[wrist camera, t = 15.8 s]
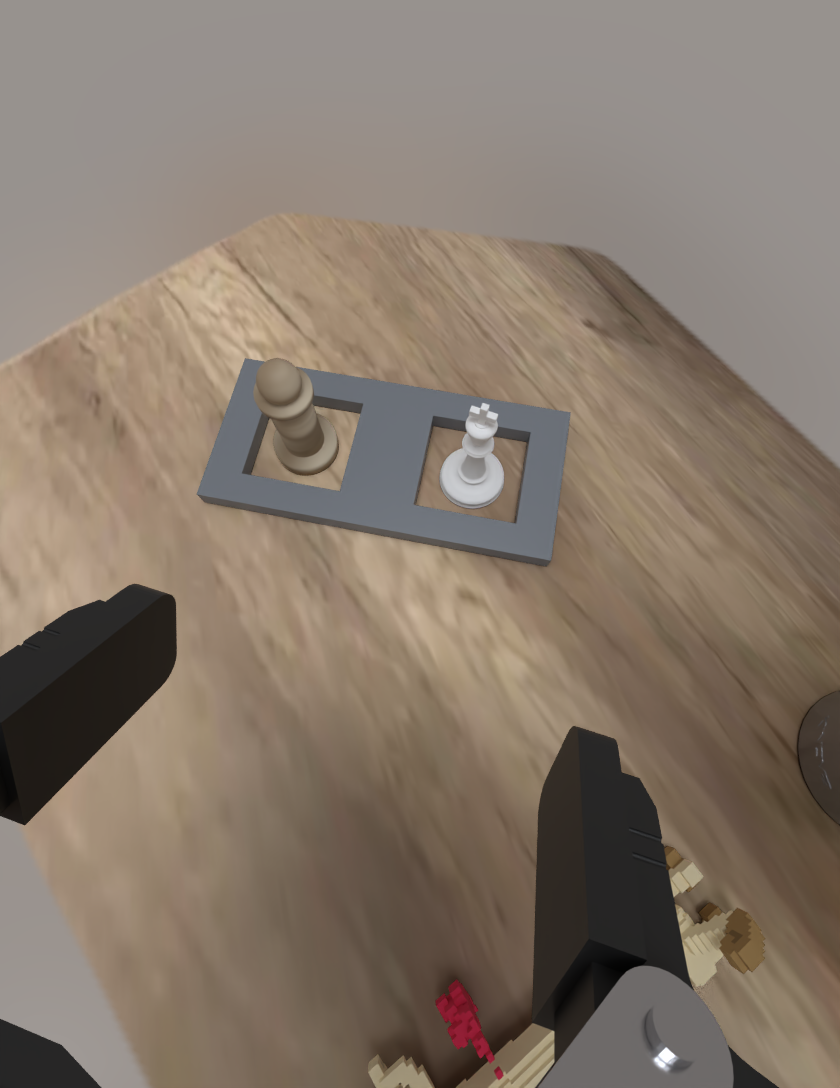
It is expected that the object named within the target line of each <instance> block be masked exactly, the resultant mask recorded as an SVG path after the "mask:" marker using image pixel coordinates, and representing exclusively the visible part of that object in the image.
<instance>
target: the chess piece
mask: <svg viewBox="0 0 840 1088" xmlns="http://www.w3.org/2000/svg"><path fill="white" fill-rule="evenodd" d="M489 406H490V405H488V404H485V403H482V406H481V408H478V407H475V406H471V408H470V411H469V417H468V418H467V420H466V424H465V426H466V431H467V434H466V435H465V436H464V438H463V440H462V446H463V448H461V449H459V450H456V451H455V452H453V453H452V454H450V455H449V456H448V457H447V459H446V460H445V462H444V463H443V466H442V468H441V471H440V477H439V480H440V486H441V489H442V491H443V493H444V494H445V496H446V497H447V498H448V499H449V500H450V501H451V502H453V503H454V504H456V505H458V506H461V507H464V508H471V509H474V508H481V507H484V506H487V505H489V504H490V503H492V502H493V501H494V500H496V499H497V497H498V496H499V495H500V493H501V491H502V489H503V485H504V471H503V468H502V465H501V463H500V461H499V460H498V459H497V458H496V457H495V456H494V455H493V454H492V453H491V452H492V451H493V448H494V440H493V436H494V434H495V433H496V431H497V428H498V423H497V418H498V414H497V413H493V412H490V411H489Z"/></svg>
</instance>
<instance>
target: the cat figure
mask: <svg viewBox="0 0 840 1088" xmlns="http://www.w3.org/2000/svg"><path fill="white" fill-rule="evenodd" d="M664 850H665V856H666V861H667V865H666V870H668V871H669V876H670V881H671V886H672V891H673V897H675V896H676V895H677V894H678V893H679V892H680V893H683V892H684V891H687V892H690V891H691V890H692V889H693V888H694V887H695V886H696V885H697V884H698V883H699V881H700V880H701V879H702V878H703V875H702V874H701V873H700V871H699V870H698V869H697V867H696V866H695V865H694V863H693V862H691V861H688V860H686V859H683V858H681V856H680V855H679V854H678V852H677V851H676V849H675V848H672V847H669V846H667V847H666V848H665V849H664ZM675 907H676V912H677V917H678V922H679V927H680V933H681V938H682V943H683V948H684V953H685V958H686V963H687V968H688V973H689V977H690V981H691V983H692V984H693V985H695V986H696V987H698V986H699V985H700V986H703V985H704V984H705V983H706V982H707V981H708V980H709V979H710V978H711V977H712V976H713V975H714V974H715V973H716V972H717V970H716V966H715V964H716V963H717V962H718V961H719V960H720V959H721V958H722V957H723V956H725V957H726V959H727V960H728V962H729V963H730V964H731V966H732V967H734V968H735V969H737V970H738V971H740V972H741V973H743V974H744V973H745V972H746V971H747V970H750V971H751V972H753V970H754V969H755V968H756V967H757V966H758V965H759V964H760V963H761V962H762V961H763V960H764V959H765V958H764V956H763V955H762V954H763V953H764V952H765V951H764V949H763V947H764V946H765V944H764V943H763V940H764V939H765V938H764V936H763V935H762V934H761V932H760V931H761V929H760V928H759V927H758V925H757V924H756V923H755V921H754V920H753V919H752V917H751V916H750V915H749V913H747V912H745V911H743V910H741V909H739V908H737V909H736V910H735V911H734V912H733V911H731V910H730V911H729V912H728V913H727V914H725V913H722V912H721V910H720V909H719V908H718V907H717V906H715V905H713V904H711V903H708V904H707V905H706V906H705V907H704V908H703V909H702V910H701V911H700V912H699V914H700V915H701V917H702V918H703V919H702V920H701V921H702V922H703V923H702V924H699V923H697V924H696V925H695V923H694V922H693V921H692V919H691V918H690V916H689V915H688V914H687V913H685V912H684V910H683V909H682V908H681V907H680V906H678V905H676V904H675ZM448 988H449V992H450V994H449V995H448V996H447V997H446V995H445V993H444V994H443V995H442V996H440V997H439V998H438V999H437V1000H436V1006H437V1008H438V1010H439V1012H440V1013H441V1015H442V1017H443V1019H444V1020H445V1022H446V1023H447V1022H448V1021H449V1020H450V1022H451V1024H452V1025H451V1026H450V1027H449V1028H447V1030H448V1033H449V1035H450V1036H451V1039H452V1042H453V1044H454V1045H455V1047H457V1049H459V1048H460V1047H463V1048H465V1047H466V1046H467V1045H468V1040H469V1039H470V1038H471V1040H472V1043H473V1045H474V1047H475V1049H476V1052H477V1054H478V1055H479V1057H480V1059H481V1058H482V1057H483V1056H484V1055H486V1058H487V1059H488V1062H487V1063H486V1064H485V1065H484V1066H482V1067H481V1068H480V1069H479V1070H478V1071H477V1072H476V1073H475V1074H474V1075H473V1076H472V1077H471V1078H470V1079H469V1080H468V1081H467V1080H466V1079H464V1080H463V1081H462V1082H461V1083H460V1084H459V1085H458V1086H457V1087H456V1088H535V1087H536V1086H537V1084H538V1083H539V1082H540V1080H541V1079H542V1078H543V1076H544V1075H545V1074H546V1072H547V1071H548V1070H549V1068H550V1067H551V1066H552V1065H553V1063H554V1031H552V1030H550V1029H547V1028H544V1027H542V1026H539V1025H537V1024H534V1023H532V1024H531V1025H530V1026H529V1027H528V1028H527V1029H526V1030H525V1031H524V1032H523V1033H522V1034H521V1035H520V1036H519V1037H518V1038H517V1039H515V1040H514V1041H512V1039H511V1040H510V1041H509V1042H508V1043H507V1044H506V1045H505V1046H504V1047H503V1048H502V1049H501V1050H499V1051H498V1052H497V1053H496V1054H495V1055H493V1054H492V1052H491V1050H490V1048H489V1045H488V1042H487V1040H486V1039H485V1037H484V1035H483V1034H482V1032H481V1030H480V1029H481V1025H480V1022H479V1019H478V1018H477V1016H476V1014H475V1013H476V1012H477V1011H478V1008H477V1007H476V1005H474V1004H473V1001H472V999H471V997H470V995H469V994H468V993H467V992H466V990H465V989H464V987H463V985H462V984H460V982H458V980H455V981H454V982H453V983H452V984H451V985H450V986H449V987H448ZM368 1073H369V1075H370V1077H371V1079H372V1081H373V1083H374V1085H375V1087H376V1088H435V1087H434V1085H433V1083H432V1081H431V1079H430V1077H429V1076H428V1074H427V1072H426V1070H425V1068H424V1066H423V1065H421V1066H420V1067H419V1068H417V1066H416V1065H415V1063H414V1061H413V1059H412V1057H410V1058H409V1059H408V1060H407V1061H406V1059H405V1057H404V1055H403V1056H402V1057H400V1058H399V1059H398V1060H397V1061H396V1062H395V1063H394V1064H393V1065H392V1066H390V1067H389V1068H388V1069H387V1067H386V1065H385V1063H383V1062H382V1060H381V1059H380V1057H379V1055H376V1056H375V1057H374V1058H373V1059H372V1060H371V1061H370V1062H369V1064H368ZM400 1082H401V1084H400ZM408 1084H409V1086H408Z"/></svg>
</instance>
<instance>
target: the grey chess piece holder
mask: <svg viewBox="0 0 840 1088" xmlns="http://www.w3.org/2000/svg"><path fill="white" fill-rule="evenodd" d="M263 363H264V361H258V360H252V359H246V358H245V360H244V363H243V366H242V369H241V372H240V374H239V377H238V380H237V383H236V386H235V388H234V391H233V394H232V397H231V400H230V402H229V405H228V408H227V411H226V414H225V416H224V419H223V422H222V425H221V428H220V430H219V433H218V436H217V439H216V442H215V444H214V447H213V450H212V453H211V456H210V458H209V461H208V464H207V467H206V470H205V472H204V475H203V478H202V481H201V484H200V486H199V489H198V492H197V495H198V496H199V497H200V498H201V499H202V500H203V501H204V502H207V503H212V504H217V505H223V506H228V507H233V508H239V509H244V510H249V511H255V512H260V513H265V514H270V515H276V516H281V517H286V518H292V519H297V520H302V521H308V522H313V523H318V524H324V525H329V526H334V527H340V528H345V529H350V530H356V531H361V532H366V533H372V534H377V535H382V536H387V537H393V538H398V539H403V540H409V541H414V542H419V543H425V544H430V545H435V546H441V547H446V548H451V549H457V550H462V551H467V552H473V553H478V554H483V555H489V556H494V557H499V558H505V559H510V560H515V561H520V562H526V563H531V564H536V565H542V566H547V565H548V564H549V563H550V561H551V557H552V549H553V542H554V534H555V527H556V519H557V512H558V504H559V496H560V489H561V481H562V474H563V466H564V459H565V451H566V443H567V436H568V428H569V421H570V412H564V411H558V410H552V409H546V408H540V407H534V406H528V405H522V404H516V403H510V402H504V401H498V400H492V399H486V398H480V397H474V396H468V395H462V394H456V393H450V392H444V391H438V390H432V389H426V388H420V387H414V386H408V385H402V384H396V383H390V382H384V381H378V380H372V379H366V378H360V377H354V376H348V375H342V374H336V373H330V372H324V371H318V370H312V369H306V368H300V367H297V368H299V369H301V370H303V371H304V372H305V373H306V374H307V375H308V377H309V378H310V380H311V383H312V386H313V390H314V398H313V401H312V404H313V405H315V406H321V407H327V408H333V409H338V410H344V411H350V412H356V413H361V414H360V418H359V422H358V425H357V429H356V433H355V437H354V440H353V444H352V448H351V451H350V455H349V459H348V463H347V466H346V470H345V474H344V477H343V481H342V485H341V489H340V491H335V490H330V489H324V488H319V487H313V486H308V485H302V484H297V483H291V482H286V481H280V480H275V479H270V478H264V477H259V476H253V475H251V472H252V469H253V466H254V463H255V459H256V456H257V453H258V450H259V447H260V444H261V441H262V438H263V435H264V432H265V429H266V426H267V423H268V420H269V417H267V416H265V415H264V414H263V413H262V412H261V411H260V409H259V408H258V406H257V404H256V402H255V400H254V395H253V391H254V386H255V383H256V375H257V371H258V369H259V368H260V366H261V365H262V364H263ZM482 403H485V404H488V405H490V406H489V411H490V412H493V413H497V414H498V418H497V423H498V428H497V431H496V433H495V434H494V436H496V437H502V438H508V439H514V440H519V441H525V442H527V446H526V453H525V459H524V465H523V472H522V478H521V484H520V491H519V497H518V504H517V510H516V516H515V523H510V522H505V521H499V520H494V519H488V518H483V517H477V516H472V515H466V514H461V513H455V512H450V511H444V510H439V509H434V508H428V507H423V506H417V505H416V501H417V496H418V492H419V487H420V483H421V478H422V474H423V469H424V464H425V460H426V455H427V451H428V446H429V442H430V437H431V433H432V428H433V426H438V427H444V428H449V429H455V430H461V431H466V426H465V424H466V420H467V418H468V417H469V411H470V408H471V406H475V407H478V408H481V406H482Z"/></svg>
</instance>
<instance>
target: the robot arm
mask: <svg viewBox="0 0 840 1088" xmlns="http://www.w3.org/2000/svg"><path fill="white" fill-rule="evenodd" d="M176 654H177V644H176V602H175V599H174V597H173V596H172V595H170V594H167V593H164V592H161V591H158V590H154V589H151V588H148V587H145V586H142V585H139V584H132V585H129V586H127V587H126V588H124V589H123V590H121V591H120V592H119V593H117V594H116V595H114V596H113V597H112V598H110V599H109V600H107V601H106V602H104V601H101V600H98V601H95V602H92V603H89V604H87V605H84V606H81V607H78V608H76V609H73V610H70V611H68V612H67V613H65V614H64V615H62V616H61V617H59V618H58V619H56V620H55V621H53V622H52V623H50V624H49V625H47V626H46V627H44V630H43V631H42V632H41V631H38V632H37V633H35V634H34V635H32V636H31V637H29V638H28V639H26V640H25V641H24V643H23V644H22V645H21V646H20V645H17V646H16V647H14V648H13V649H11V650H10V651H8V652H7V653H5V654H4V655H2V656H1V657H0V816H2V817H4V818H7V819H10V820H12V821H15V822H17V823H20V824H23V825H26V824H27V823H28V822H29V821H30V820H31V819H32V818H33V817H34V816H35V815H36V814H37V813H38V812H39V811H40V810H41V808H42V807H43V806H44V805H45V804H46V803H47V802H48V801H49V800H50V799H51V798H52V797H53V796H54V795H55V794H56V793H57V792H58V791H59V790H60V789H61V788H62V787H63V786H64V785H65V784H66V783H67V782H68V781H69V780H70V779H71V778H72V777H73V776H74V775H75V774H76V773H77V772H78V771H79V770H80V769H81V768H82V767H83V766H84V765H85V764H86V763H87V762H88V761H89V760H90V759H91V758H92V756H93V755H94V754H95V753H96V752H97V751H98V750H99V749H100V748H101V747H102V746H103V745H104V744H105V743H106V742H107V741H108V740H109V739H110V738H111V737H112V736H113V735H114V734H115V733H116V732H117V731H118V730H119V729H120V728H121V727H122V726H123V725H124V724H125V723H126V722H127V721H128V720H129V719H130V718H131V717H132V716H133V715H134V714H135V713H136V712H137V711H138V710H139V709H140V708H141V707H142V706H143V704H144V703H145V702H146V701H147V700H148V699H149V698H150V697H151V696H152V695H153V694H154V693H155V692H156V691H157V690H158V689H159V688H160V687H161V686H162V685H163V684H164V683H165V681H166V680H167V679H168V677H169V675H170V674H171V672H172V669H173V667H174V664H175V661H176ZM798 750H799V759H800V765H801V769H802V772H803V775H804V778H805V781H806V783H807V785H808V787H809V789H810V791H811V792H812V794H813V796H814V798H815V799H816V800H817V802H818V803H819V804H820V806H821V807H822V808H823V810H824V811H825V812H826V813H827V814H828V815H829V816H830V817H832V818H833V819H834V820H835V821H836V822H837V823H838V824H839V825H840V691H837V692H833V693H831V694H829V695H827V696H826V697H824V698H822V699H820V700H819V701H818V702H817V703H816V704H815V705H814V706H813V707H812V708H811V709H810V711H809V712H808V714H807V716H806V717H805V719H804V721H803V724H802V727H801V730H800V734H799V745H798ZM661 839H662V835H661V830H660V825H659V820H658V814H657V809H656V807H655V805H654V803H653V801H652V800H651V798H650V796H649V794H648V793H647V791H646V789H645V787H644V786H643V784H642V782H641V780H640V779H639V778H637V777H634V776H631V775H628V774H625V773H622V772H621V765H620V758H619V751H618V745H617V742H616V740H615V739H614V738H611V737H607V736H604V735H601V734H598V733H595V732H592V731H589V730H586V729H583V728H579V727H576V726H573V727H572V728H571V729H570V730H569V732H568V734H567V736H566V738H565V740H564V742H563V744H562V747H561V749H560V751H559V753H558V755H557V757H556V759H555V761H554V763H553V765H552V767H551V770H550V772H549V774H548V776H547V778H546V780H545V783H544V786H543V789H542V793H541V798H540V803H539V811H538V837H537V870H536V903H535V935H534V968H533V1000H532V1023H534V1024H537V1025H539V1026H542V1027H544V1028H547V1029H550V1030H552V1031H554V1063H553V1065H552V1066H551V1067H550V1068H549V1070H548V1071H547V1072H546V1074H545V1075H544V1076H543V1078H542V1079H541V1080H540V1082H539V1083H538V1084H537V1086H536V1087H535V1088H779V1087H777V1086H776V1085H775V1084H773V1083H772V1082H771V1081H769V1080H768V1079H767V1078H765V1077H764V1076H763V1075H761V1074H760V1073H759V1072H757V1071H756V1070H755V1069H753V1068H752V1067H751V1066H750V1065H748V1064H747V1063H746V1062H745V1061H744V1060H742V1059H741V1058H740V1057H739V1056H738V1055H737V1054H736V1053H735V1052H734V1051H733V1050H732V1049H731V1048H730V1047H729V1046H728V1045H727V1042H726V1039H725V1037H724V1035H723V1033H722V1030H721V1028H720V1026H719V1024H718V1023H717V1021H716V1019H715V1017H714V1016H713V1014H712V1013H711V1011H710V1010H709V1008H708V1007H707V1005H706V1004H705V1003H704V1002H703V1000H702V999H701V998H700V997H699V996H698V995H697V993H696V992H694V990H693V987H692V984H691V981H690V977H689V973H688V968H687V963H686V958H685V953H684V948H683V943H682V938H681V933H680V927H679V922H678V917H677V912H676V907H675V902H674V897H673V891H672V886H671V881H670V876H669V871H668V870H666V865H667V861H666V856H665V850H664V845H663V844H661ZM0 1088H101V1087H100V1086H99V1085H98V1084H97V1082H96V1081H95V1080H94V1079H93V1078H92V1077H91V1076H90V1075H89V1074H88V1073H87V1072H86V1071H85V1070H84V1069H83V1068H82V1066H81V1065H79V1063H78V1062H77V1061H76V1060H75V1059H74V1058H73V1057H72V1056H71V1055H70V1054H69V1053H68V1051H67V1050H66V1049H65V1048H64V1047H63V1046H62V1045H60V1044H58V1043H55V1042H53V1041H51V1040H48V1039H46V1038H44V1037H41V1036H39V1035H37V1034H34V1033H32V1032H30V1031H27V1030H25V1029H23V1028H20V1027H18V1026H15V1025H13V1024H11V1023H9V1022H6V1021H4V1020H1V1019H0Z"/></svg>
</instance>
